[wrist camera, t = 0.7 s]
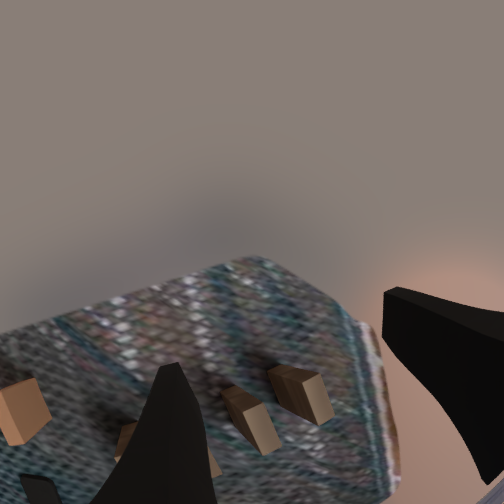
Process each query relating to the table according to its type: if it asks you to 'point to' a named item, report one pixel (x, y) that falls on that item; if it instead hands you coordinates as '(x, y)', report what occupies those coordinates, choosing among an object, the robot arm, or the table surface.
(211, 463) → the domino
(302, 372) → the domino
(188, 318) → the table surface
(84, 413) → the table surface
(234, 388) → the domino
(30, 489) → the remote control
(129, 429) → the domino
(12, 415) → the domino
